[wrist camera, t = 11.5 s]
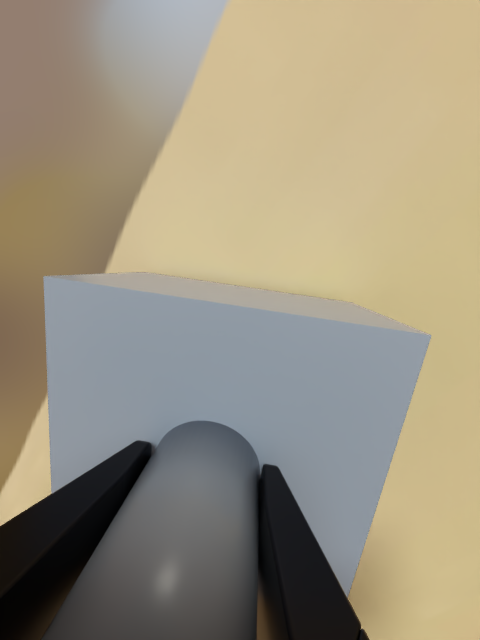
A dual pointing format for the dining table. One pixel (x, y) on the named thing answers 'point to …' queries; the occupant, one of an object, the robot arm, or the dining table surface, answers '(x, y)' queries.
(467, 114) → the dining table surface
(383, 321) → the block with rounded knob
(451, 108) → the dining table surface
